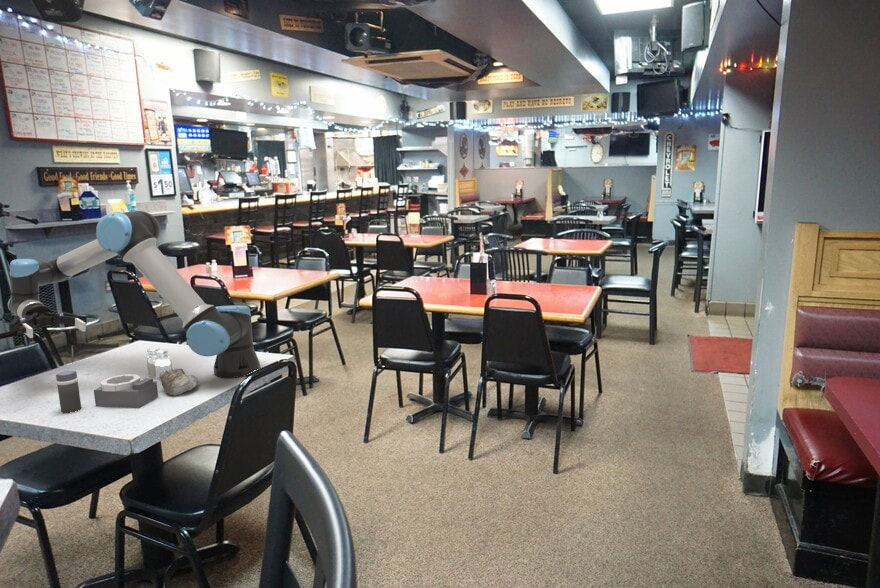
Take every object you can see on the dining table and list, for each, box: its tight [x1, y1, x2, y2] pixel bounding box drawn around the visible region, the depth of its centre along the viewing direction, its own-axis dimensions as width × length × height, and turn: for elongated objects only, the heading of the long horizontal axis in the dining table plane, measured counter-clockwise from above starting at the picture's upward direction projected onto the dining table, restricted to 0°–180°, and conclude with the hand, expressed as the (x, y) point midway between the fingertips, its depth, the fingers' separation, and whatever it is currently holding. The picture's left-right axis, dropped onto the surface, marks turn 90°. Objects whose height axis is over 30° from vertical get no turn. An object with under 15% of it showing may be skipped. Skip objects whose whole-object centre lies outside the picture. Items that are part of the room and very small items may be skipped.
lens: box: [55, 370, 82, 414], centre depth 167 cm, size 5×5×11 cm
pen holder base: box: [93, 373, 159, 409], centre depth 174 cm, size 14×10×7 cm
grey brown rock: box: [158, 367, 200, 396], centre depth 183 cm, size 14×9×10 cm
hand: (58, 330), depth 171 cm, fingers open, 13 cm apart
